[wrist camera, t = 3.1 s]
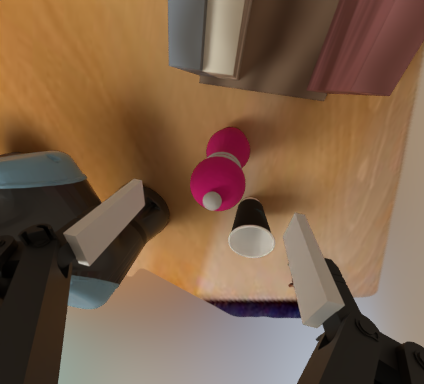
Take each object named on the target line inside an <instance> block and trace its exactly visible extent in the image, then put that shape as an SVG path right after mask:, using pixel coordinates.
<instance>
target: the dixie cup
mask: <svg viewBox="0 0 424 384" xmlns="http://www.w3.org/2000/svg"><path fill="white" fill-rule="evenodd" d="M228 243H229V246H230V247H231V249H232V250H233V251H234V252H236V253H237V254H239V255H241V256H244V257H248V258H259V257H263V256H265V255H267V254H269V253H270V252H271V251H272V250H273V249H274V246H275V239H274V237H273V235H272V234H271V231H270V228H269V225H268V222H267V219H266V216H265V213H264V209H263V206H262V204H261V203H260V202H259V200H257V199H256V198H253V197H248V198H245V199H243V200H242V201H241V202H240V204H239V206H238V209H237V213H236V217H235V220H234V224H233V228H232V232H231V233H230V235H229V237H228Z"/></svg>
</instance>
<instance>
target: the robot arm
mask: <svg viewBox="0 0 424 384" xmlns="http://www.w3.org/2000/svg"><path fill="white" fill-rule="evenodd" d="M168 220H169V210H168V207H167V205H166V203H165V202H164V200H163V199H162V198H161V197H160V196H159V195H158V194H157V193H155V192H154V191H153V190H151V189H149V188H147V187H144V186H143V185H142V180H138V179H133V180H131V181H130V182H129V183H127V184H126V185H125V186H123V187H122V188H120V189H119V190H118V191H116V192H115V193H114V194H113V195H112V196H111V197H109V198H108V199H107V200H105V201H104V202H103V203H101V201H100V199H99V198H98V196H97V195H96V193H95V192H94V190H93V188H92V187H91V185H90V184H89V182H88V181H87V177H86V175H85V174H83V173H82V172H81V170H80V169H79V167H78V166H77V165H76V163H75V162H74V160H73V159H72V158H71V157H70V156H69V155H67V154H66V153H63V152H60V151H42V152H33V153H26V154H19V155H12V156H6V157H0V384H58V378H59V370H60V362H61V354H62V346H63V338H64V329H65V322H66V314H67V306H68V305H69V306H72V307H77V308H82V309H95V308H98V307H100V306H102V305H103V304H105V303H106V302H107V300H108V299H109V298H110V296H111V295H112V294H113V292H114V291H115V289H116V288H118V287H119V285H120V283H121V281H122V280H123V278H124V277H125V275H126V274H127V272H128V271H129V269H130V267H131V266H132V264H133V263H134V261H135V260H136V258H137V256H138V255H139V253H140V252H141V250H142V249H143V247H144V246H145V244H146V243H147V242H148V241H149V240H151V239H152V238H153V237H154V236H156V235H157V234H158V233H160V232H161V231H162V230H163V229H164V228H165V226H166V224H167V223H168ZM283 239H284V244H285V248H286V253H287V257H288V261H289V266H290V270H291V275H292V279H293V283H294V288H295V292H296V297H297V301H298V305H299V310H300V314H301V319H302V323H303V325H307V326H310V327H314V328H318V327H319V326H320V325H322V324H323V327H324V330H325V332H324V333H323V334H321V335H320V336H319V337H318V338H317V339H316V340H317V341H319V342H318V344H317V346H316V348H315V350H314V351H313V353H312V355H311V358H310V359H309V361H308V363H307V365H306V367H305V369H304V371H303V373H302V375H301V377H300V379H299V381H298V383H297V384H424V348H423V347H422V346H420V345H418V344H416V343H414V342H406V343H403V344H400V343H399V342H397V341H395V340H393V339H391V338H389V337H388V336H386V335H384V334H382V333H381V332H379V330H378V328H377V327H376V326H375V324H374V323H373V322H372V321H370V319H368V318H367V317H366V316H364V315H362V314H361V312H360V310H359V308H358V306H357V304H356V302H355V300H354V298H353V296H352V294H351V292H350V290H349V288H348V286H347V285H346V282H345V280H344V278H343V277H342V274H341V272H340V270H339V268H338V267H337V266H336V265H335V263H334V262H333V261H332V260H331V259H326V258H324V257H323V255H322V253H321V250H320V248H319V246H318V243H317V241H316V239H315V237H314V234H313V232H312V230H311V228H310V225H309V223H308V221H307V219H306V216H305V215H304V214H299V213H294V215H293V217H292V219H291V221H290V223H289V225H288V227H287V229H286V231H285V233H284V235H283Z"/></svg>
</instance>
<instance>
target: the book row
mask: <svg viewBox="0 0 424 384" xmlns="http://www.w3.org/2000/svg"><path fill="white" fill-rule="evenodd" d="M168 35H169V66H171V67H175V68H178V69H181V70H184V71H187V72H191V73H194V74H197V75H200V82H199V83H203V84H209V85H216V86H223V87H230V88H237V89H244V90H250V91H257V92H264V93H271V94H278V95H285V96H291V97H298V98H305V99H312V100H319V101H324V100H325V98H326V96H327V93H329V94H352V95H376V96H390V95H391V93H392V91H393V90H394V88H395V87H396V85H397V83H398V82H399V80H400V78H401V77H402V75H403V74H404V72H405V70H406V69H407V67H408V65H409V64H410V62H411V60H412V59H413V57H414V56H415V54H416V52H417V51H418V49H419V47H420V46H421V44H422V43H423V41H424V0H168Z"/></svg>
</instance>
